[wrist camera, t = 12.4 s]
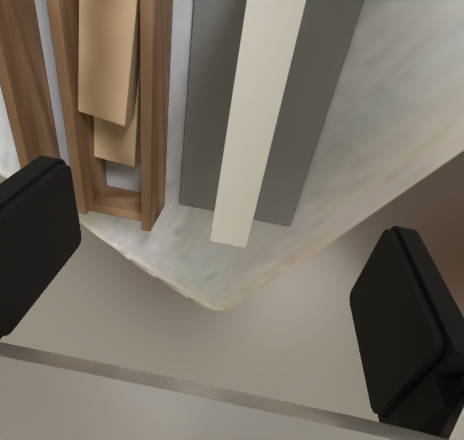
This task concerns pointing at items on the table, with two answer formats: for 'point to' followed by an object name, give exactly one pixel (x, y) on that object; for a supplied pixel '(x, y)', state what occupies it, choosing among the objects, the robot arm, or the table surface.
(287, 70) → the cream rectangular panel
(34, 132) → the rack
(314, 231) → the table surface
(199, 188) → the mat
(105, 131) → the offcut long
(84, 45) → the offcut short
